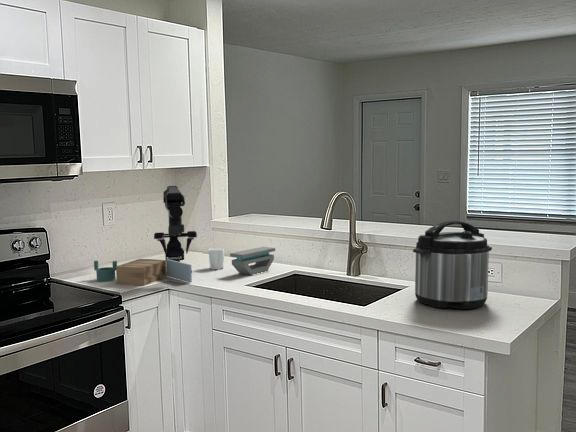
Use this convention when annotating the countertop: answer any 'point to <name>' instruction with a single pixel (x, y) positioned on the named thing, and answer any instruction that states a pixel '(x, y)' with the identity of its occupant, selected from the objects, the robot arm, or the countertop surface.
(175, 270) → the cabinet door
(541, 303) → the countertop surface
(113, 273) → the bracket
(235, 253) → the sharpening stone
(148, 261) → the walnut cabinet
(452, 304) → the pressure cooker
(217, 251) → the white cup
